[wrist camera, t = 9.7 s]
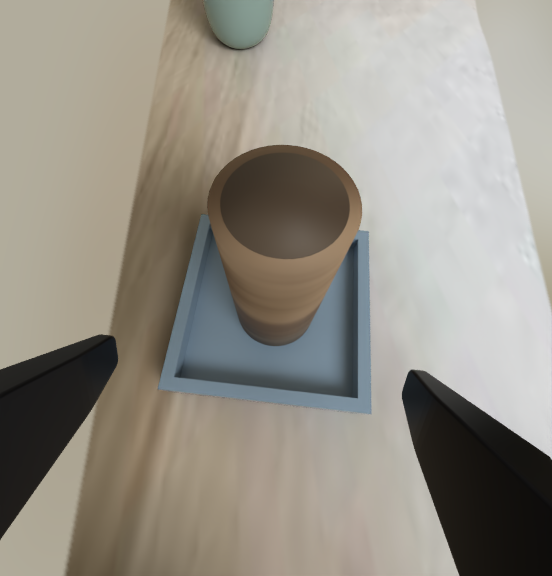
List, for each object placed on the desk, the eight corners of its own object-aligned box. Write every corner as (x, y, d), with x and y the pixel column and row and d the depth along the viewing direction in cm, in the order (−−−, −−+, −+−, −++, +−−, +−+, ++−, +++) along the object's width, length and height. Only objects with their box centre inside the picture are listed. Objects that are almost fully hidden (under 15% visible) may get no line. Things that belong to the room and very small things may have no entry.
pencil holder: (322, 336, 21) (385, 252, 10) (245, 354, 20) (221, 286, 9) (301, 268, 23) (334, 134, 12) (231, 282, 22) (196, 155, 11)
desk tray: (360, 413, 20) (371, 414, 18) (168, 391, 20) (157, 389, 18) (360, 246, 25) (368, 231, 23) (206, 230, 25) (201, 214, 23)
